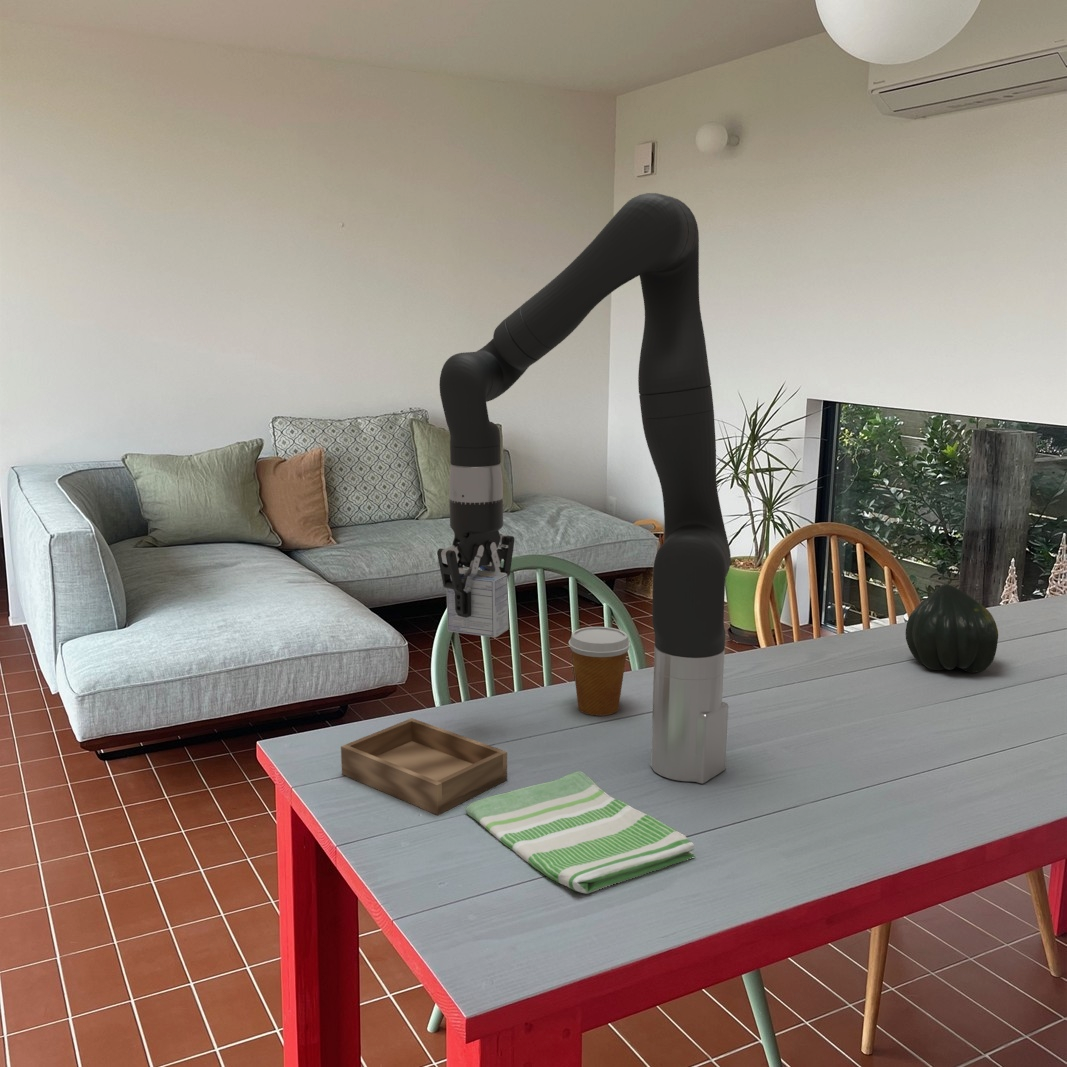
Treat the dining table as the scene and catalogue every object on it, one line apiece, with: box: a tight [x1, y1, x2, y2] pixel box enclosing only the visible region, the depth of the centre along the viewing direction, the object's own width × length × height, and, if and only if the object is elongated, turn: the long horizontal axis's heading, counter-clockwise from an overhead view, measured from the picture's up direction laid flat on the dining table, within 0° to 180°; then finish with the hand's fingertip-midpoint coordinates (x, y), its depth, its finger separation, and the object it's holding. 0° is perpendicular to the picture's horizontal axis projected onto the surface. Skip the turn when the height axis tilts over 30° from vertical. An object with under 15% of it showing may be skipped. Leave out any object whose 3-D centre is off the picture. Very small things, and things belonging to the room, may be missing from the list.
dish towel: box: [464, 770, 696, 895], centre depth 125 cm, size 18×23×3 cm
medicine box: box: [446, 567, 509, 639], centre depth 151 cm, size 8×4×9 cm, turn 65°
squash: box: [905, 583, 999, 674], centre depth 184 cm, size 14×15×15 cm
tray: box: [340, 717, 508, 816], centre depth 140 cm, size 18×13×4 cm
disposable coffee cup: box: [568, 626, 631, 716], centre depth 163 cm, size 10×10×12 cm
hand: (478, 611), depth 152 cm, fingers closed on medicine box, 5 cm apart
